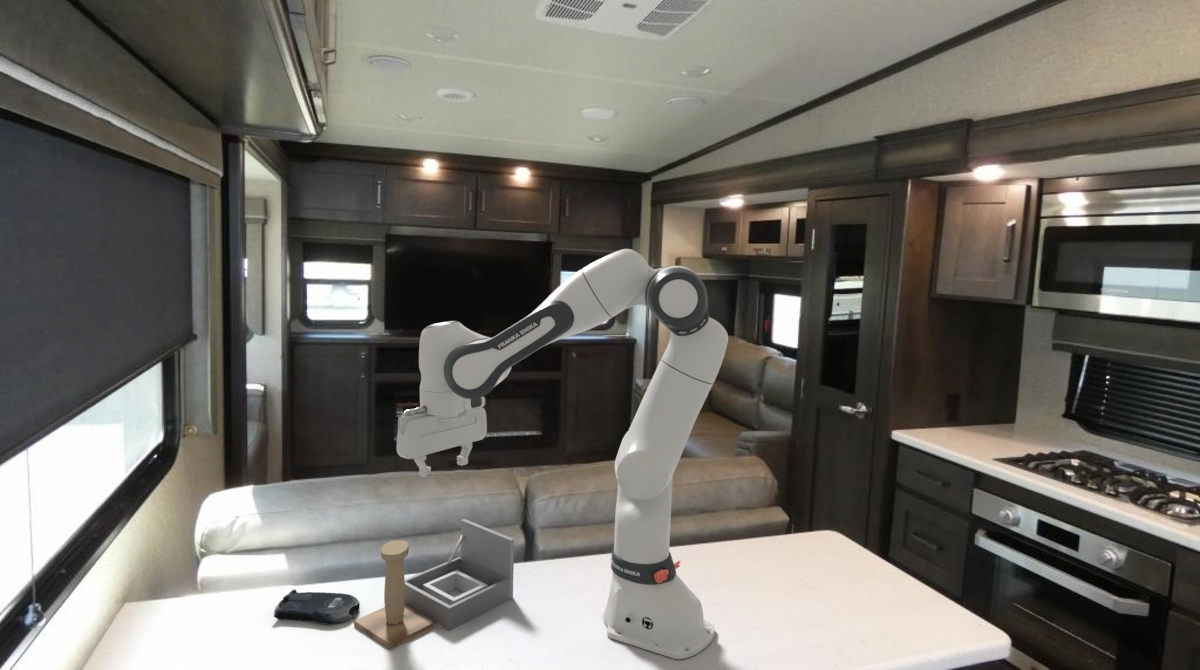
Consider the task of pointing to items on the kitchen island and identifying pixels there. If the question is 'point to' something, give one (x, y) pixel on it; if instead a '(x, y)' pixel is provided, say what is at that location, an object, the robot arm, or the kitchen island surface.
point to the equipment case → (465, 578)
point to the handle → (394, 580)
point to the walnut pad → (394, 626)
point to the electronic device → (316, 607)
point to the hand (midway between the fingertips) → (444, 470)
